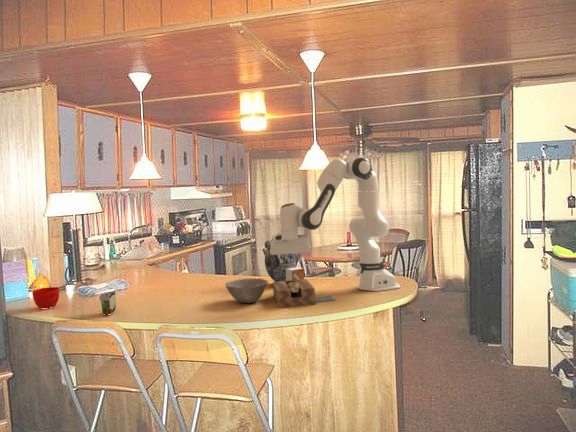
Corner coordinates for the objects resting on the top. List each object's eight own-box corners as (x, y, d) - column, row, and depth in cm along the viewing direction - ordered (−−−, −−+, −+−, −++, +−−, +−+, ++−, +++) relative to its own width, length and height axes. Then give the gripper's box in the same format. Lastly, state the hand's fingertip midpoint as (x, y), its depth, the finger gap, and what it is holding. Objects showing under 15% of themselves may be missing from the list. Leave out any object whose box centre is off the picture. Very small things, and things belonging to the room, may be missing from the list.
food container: (104, 311, 253) (102, 291, 252) (116, 310, 253) (115, 290, 252) (97, 317, 240) (95, 297, 240) (110, 316, 241) (108, 296, 240)
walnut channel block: (307, 293, 266) (306, 279, 265) (315, 304, 242) (314, 288, 241) (273, 296, 263) (272, 281, 263) (278, 307, 240) (277, 291, 239)
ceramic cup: (47, 312, 256) (45, 293, 255) (28, 310, 265) (27, 291, 264) (70, 306, 267) (68, 288, 266) (51, 304, 276) (49, 286, 275)
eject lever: (296, 293, 261) (295, 283, 263) (300, 291, 244) (299, 280, 245) (286, 294, 261) (285, 283, 262) (290, 292, 243) (289, 281, 244)
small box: (293, 294, 267) (291, 270, 266) (286, 292, 272) (285, 268, 272) (305, 291, 272) (303, 268, 271) (298, 289, 277) (297, 266, 276)
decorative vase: (277, 289, 280) (274, 240, 279) (258, 286, 294) (255, 239, 293) (305, 283, 293) (302, 236, 292) (286, 280, 308) (283, 235, 306)
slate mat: (331, 296, 257) (331, 295, 257) (335, 300, 247) (335, 299, 247) (312, 297, 256) (312, 296, 256) (315, 302, 246) (315, 301, 246)
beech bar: (296, 291, 255) (295, 283, 256) (299, 289, 245) (298, 281, 246) (288, 291, 254) (288, 283, 255) (291, 290, 245) (290, 282, 245)
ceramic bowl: (236, 309, 240) (234, 289, 240) (219, 301, 261) (218, 282, 260) (277, 302, 251) (275, 282, 250) (258, 294, 271) (257, 276, 270)
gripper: (308, 233, 256) (309, 260, 256) (269, 236, 253) (270, 262, 254) (310, 234, 249) (311, 262, 250) (270, 237, 247) (271, 264, 248)
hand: (290, 262), depth 252 cm, fingers open, 8 cm apart
